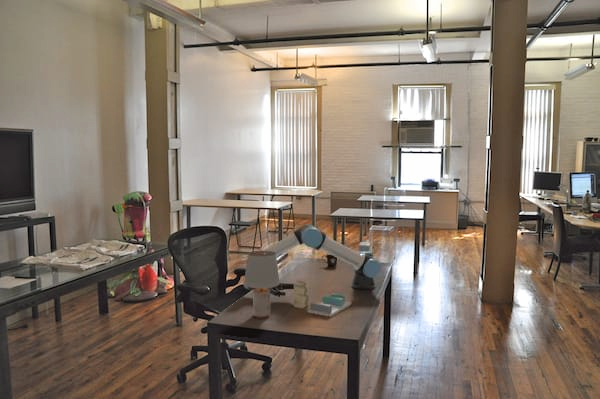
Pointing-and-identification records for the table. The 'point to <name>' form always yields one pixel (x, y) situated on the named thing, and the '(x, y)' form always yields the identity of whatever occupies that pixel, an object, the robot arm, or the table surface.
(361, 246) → the hard drive box
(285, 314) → the table surface
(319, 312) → the bed
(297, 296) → the birch block
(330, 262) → the coffee mug
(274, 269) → the lamp
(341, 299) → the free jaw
